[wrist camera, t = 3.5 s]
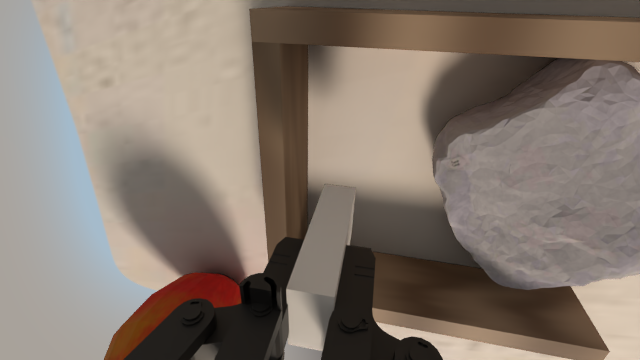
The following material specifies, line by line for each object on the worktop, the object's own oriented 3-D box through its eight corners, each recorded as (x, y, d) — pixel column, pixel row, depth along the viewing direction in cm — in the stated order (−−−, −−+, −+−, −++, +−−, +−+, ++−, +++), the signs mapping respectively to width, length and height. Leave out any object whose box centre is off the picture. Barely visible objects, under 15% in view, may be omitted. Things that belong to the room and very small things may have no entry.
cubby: (715, 20, 14) (856, 29, 10) (560, 294, 22) (599, 364, 18) (286, 6, 17) (249, 9, 13) (292, 251, 25) (271, 301, 21)
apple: (232, 234, 26) (125, 388, 16) (288, 310, 29) (229, 479, 19) (155, 260, 30) (27, 399, 19) (212, 325, 33) (127, 474, 22)
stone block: (486, 252, 24) (671, 220, 18) (487, 304, 21) (718, 285, 15) (411, 118, 21) (606, 27, 15) (396, 152, 17) (646, 50, 11)
